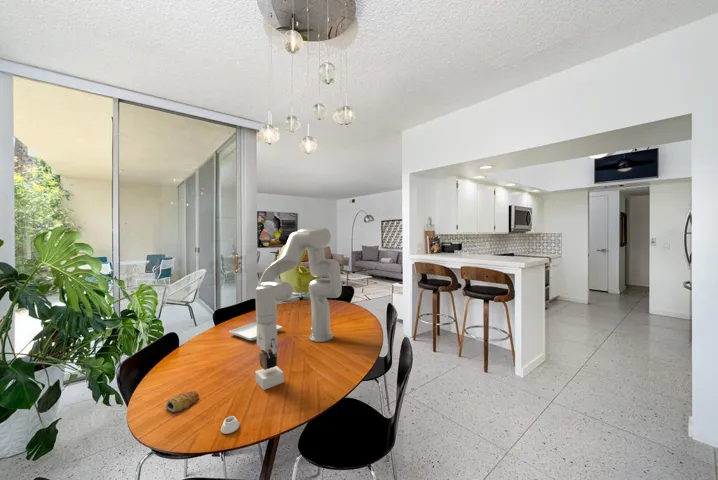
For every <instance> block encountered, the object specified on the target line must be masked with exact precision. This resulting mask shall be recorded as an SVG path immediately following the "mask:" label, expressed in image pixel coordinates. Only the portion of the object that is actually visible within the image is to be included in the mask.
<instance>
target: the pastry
mask: <svg viewBox="0 0 718 480" xmlns="http://www.w3.org/2000/svg"><path fill="white" fill-rule="evenodd" d="M198 397H199V398H200V395H199V393H198V392H197V391H194V390H193V391H192V390H191V391H187V392H186V391H185V392H182V393H177V394H176V395H174V396H172V397H171V398H170V399H168V400H167V402H166V405H165V407H166V409H167V410H168V411H170V412H172V413H176V412H181V411H183V410H184V409H187V408H189V407H190V406H191V405H193V404H194V403H195V402H197V401H196V400H198V399H199V398H198ZM192 403H193V404H192ZM188 406H189V407H188Z"/></svg>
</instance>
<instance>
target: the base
mask: <svg viewBox="0 0 718 480" xmlns="http://www.w3.org/2000/svg"><path fill="white" fill-rule="evenodd" d="M254 375H255V383H256V384H257V385H258V386H259V388H261V390H263V391H265V390H267V389H270V388H273V387H275V386H278V385H280V384H282V383H283V384H284V382H285V376H284V371H283V370H282V369H281V368H280V367H278V366H275V367H273V368H270V369H266V370H264V369H263V368H261V369H258V370H255V372H254Z"/></svg>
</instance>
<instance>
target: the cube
mask: <svg viewBox="0 0 718 480" xmlns="http://www.w3.org/2000/svg"><path fill="white" fill-rule="evenodd" d="M271 352H272V351H270V353H271ZM258 354H259V355H258V356H259V357H258V358H259V366H260V367H261V369H264V370H266V369H268V368H267V358H268V355H267V351H266V352H265V351H263V352H261V351H259V353H258ZM276 366H277V367H278V352H277V353H276Z"/></svg>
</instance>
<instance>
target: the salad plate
mask: <svg viewBox="0 0 718 480" xmlns="http://www.w3.org/2000/svg"><path fill="white" fill-rule="evenodd" d="M276 327H277V332H278V331H280V330H281V329H282V328H283V326H281V325H279V324H276ZM228 332H229V334H232V335H234V336H237V337H239V338H242V339H244V340H248V341H257V321H256V322H252V323H248V324H246V325H243V326H242V325H241V326H240V327H237V328H234V329H231V330H229V331H228Z"/></svg>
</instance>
